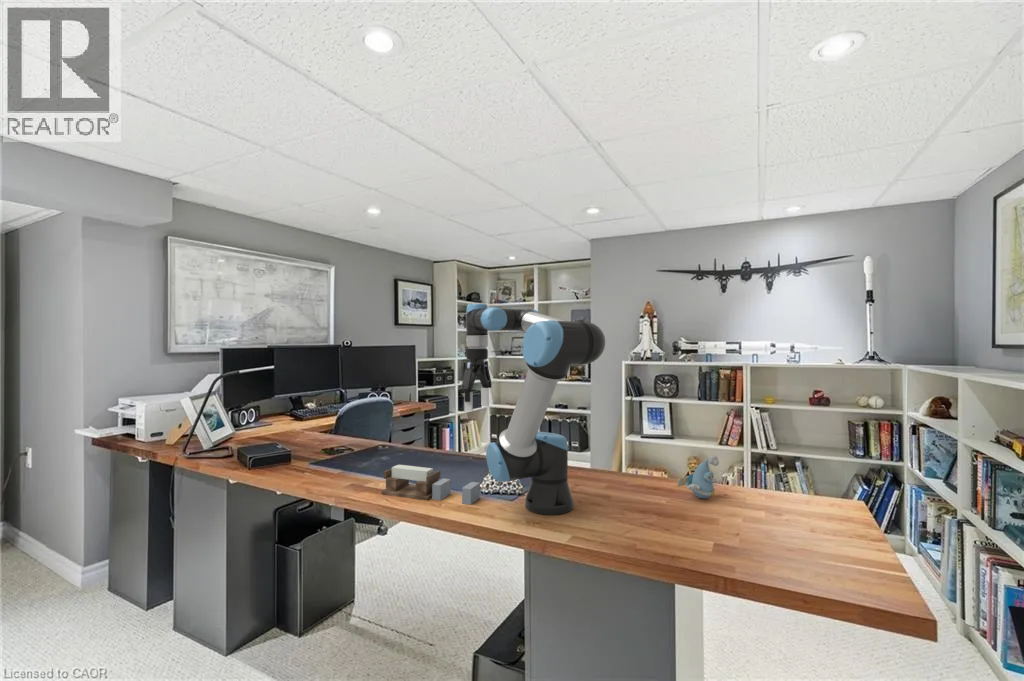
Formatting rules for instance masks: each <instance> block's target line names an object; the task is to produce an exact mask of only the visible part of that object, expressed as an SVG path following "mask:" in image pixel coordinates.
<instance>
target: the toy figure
mask: <svg viewBox="0 0 1024 681" xmlns="http://www.w3.org/2000/svg"><path fill="white" fill-rule="evenodd" d="M709 464H710V465H712V466H714V467H718V466H719V464H720V461H719V458H718V457H717V456H716V455H714V454H713V455H711V456H710V458H707V459H705V460H704V461H703V462H701V463H699V464H698V465H697V466H696V469H695V470H694V472H693V474H692V473H691V474H687V475H686V476H681V477H680V478H678V479H677V481H676V482H677V486H678V487H682V486H686V488H687V490H691V492H692V493H693V495H694V496H696V497H697V498H699V499H708V498H710V497H712V496H713V497H714V495H715V487H716V486H717V485H716V484H717V483H718V479H717V478H716V477H714V474H715V473H714V472H713V471H710V466H709ZM714 486H715V487H714Z"/></svg>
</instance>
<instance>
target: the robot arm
mask: <svg viewBox="0 0 1024 681" xmlns="http://www.w3.org/2000/svg"><path fill="white" fill-rule="evenodd" d="M465 317H466V318H465V319H466V320H465V322H466V324H465V325H466V327H465V328H466V331H465V332H466V338H465V341H466V347H467V348H466V352H465V354H466V356H465V357H466V359H467V360H469V362H465V363H464V366H465V368H464V373H463V377H462V382H461V386H460V391H461V393H464V400H463V401H464V403H463V406H464V408H463V410H464V412H471V413H472V412H473V411H474V410H473V409H474V408H473V407H474V406H473V402H474V401H473V400H474V399H473V396H474V395H473V391H472V390H473V388H474V384H475V381H476V378H477V377H478V379H479V382H480V384H481V388H480V405H481V407H489V406H490V402H489V400H490V398H489V396H490V394H489V393H490V392H489V391H490V389H491V388H492V379H491V374H490V369H489V362H488V359H489V356H488V355H489V349H488V347H489V332H493V331H494V332H499V331H500V332H504V331H506V332H513V331H514V332H523V333H524V336H523V339H522V345H521V346H522V347H523V348H522V349H521V351H522V356H523V360H524V361H525V366H526V367H527V373H526V376H525V377H524V378H525V379H524V381H523V385H522V387H521V390H520V393H519V395H518V398H517V402H516V404H515V406H514V410H513V413H512V415H511V418H510V421H509V423H508V427H507V428H506V429H504V430H503V431H501V432H500V434H499V437H498V440H497V441H496V442H490V443H489V444H488V445H487V446H486V449H485V450H486V451H485V457H486V458H485V459H486V463H487V464H486V465H487V467H488V468H487V469H488V470H489V474H490V476H491V477H492V478H493V479H494V481H496V482H499V483H506V482H507V483H508V482H510V481H518V480H523V479H528V478H530V483H529V485H528V486H529V487H528V490H527V492H526V496H525V498H524V500H525V504H524V505H525V508H526V509H527V510H528V511H530V512H532V513H535V514H538V515H539V514H540V515H550V516H555V515H562V514H563V515H564V514H566V513H569V512H571V511H572V510H573V509H574V498H573V495H572V492H571V489H570V487H569V486H570V484H569V483H568V480H569V478H568V477H569V476H568V475H569V474H568V473H569V472H568V463H569V462H568V461H569V460H568V458H569V457H568V454H569V453H568V452H569V447H568V439H567V437H566V436H564V435H561V434H559V433H554V432H547V431H539V430H540V428H541V425H542V423H543V420H544V417H545V415H546V413H547V410H548V408H549V405H550V403H551V401H552V397H553V395H554V393H555V390H556V388H557V384H558V382H559V381H562V380H564V379H565V378H566V377H567V376H568V373H569V371H570V368H571V366H578V365H579V366H581V365H582V366H584V365H588V364H591V363H595V361H596V360H598V359H599V358H600V357H601V356H602V354H603V352H604V350H605V347H606V338H605V335H604V332H603V330H602V329H601V328H600V327H599V326H598V325H597V324H595V323H593V322H588V321H581V320H576V321H569V320H565V319H561V318H557V317H554V316H550V315H547V314H542V313H539V311H538V310H537V309H531V308H527V309H526V308H525V309H524V308H523V309H522V308H518V309H517V308H502V307H497V306H496V307H495V306H494V307H493V306H492V307H488V305H487V303H468V304H467V306H466V313H465ZM488 331H489V332H488Z"/></svg>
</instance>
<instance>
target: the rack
mask: <svg viewBox="0 0 1024 681" xmlns="http://www.w3.org/2000/svg"><path fill="white" fill-rule="evenodd" d="M440 478H441V470H436V471H435V472H434V471H433V474H431V475H429V476H427V477H426V482H423V481H415V484H411V483H410V480H407V479H400V478H392V467H391V468H389V469H387V470H384V471H383V479H384V480H385V489H383V490H381V494H382V495H387V496H395V497H400V498H402V497H403V498H407V499H415V500H421V501H422V500H423V501H429V500H430V499H432V484H434V483H435V482H437V481H439V480H440Z"/></svg>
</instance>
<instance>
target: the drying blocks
mask: <svg viewBox="0 0 1024 681" xmlns="http://www.w3.org/2000/svg"><path fill="white" fill-rule="evenodd" d="M480 485H481V484H480V482H478V481H477V482H475V481H471V482H469V483H467V484H466V485H464V486H463V487H462V488H461V504H464V505H469V506H470V505H472V504H473V503H475V502H476V501H478V500H479V499H480V497H481V496H480V495H481V494H480V492H481V490H480V489H481V486H480ZM449 495H451V479H450V478H441V479H438V481H437V482H435V483H434V484H432V498H431V499H432V500H435V501H442V500H443V499H445V498H447V497H448V496H449Z"/></svg>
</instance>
